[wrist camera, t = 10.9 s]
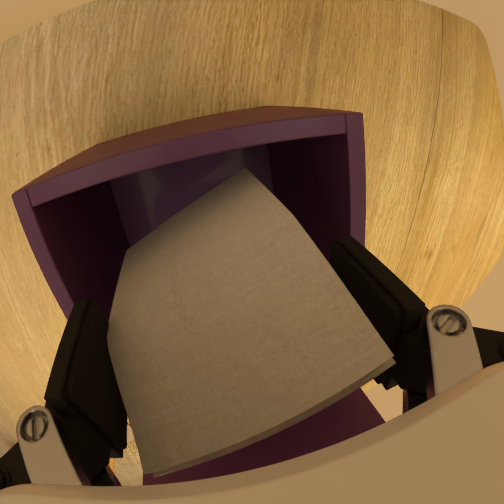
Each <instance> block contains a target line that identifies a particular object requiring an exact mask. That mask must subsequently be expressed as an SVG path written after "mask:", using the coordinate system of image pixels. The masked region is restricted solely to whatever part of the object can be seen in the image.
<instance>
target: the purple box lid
mask: <svg viewBox="0 0 504 504" xmlns="http://www.w3.org/2000/svg"><path fill="white" fill-rule="evenodd" d="M383 423H385V421H384V419H383V418H382V417H381V415H380V414H379V413H378V411H377V410H376V408H375V407H374V406H373V405H372V403H371V402H370V400H369V399H368V397H367V396H366V395H365V393H364V392H363V391H362V389H361V388H358V389H357V390H355V391H353V392H352V393H350V394H348V395H347V396H345V397H343V398H342V399H340V400H338V401H337V402H335V403H333V404H331V405H330V406H328V407H326V408H324V409H323V410H321V411H319V412H317V413H315V414H313V415H312V416H310V417H308V418H306V419H304V420H302V421H300V422H298V423H296V424H294V425H292V426H290V427H288V428H286V429H284V430H282V431H280V432H278V433H276V434H273V435H271V436H269V437H267V438H265V439H262V440H260V441H258V442H256V443H253V444H251V445H248V446H246V447H244V448H241V449H239V450H236V451H234V452H231V453H229V454H226V455H223V456H221V457H218V458H215V459H212V460H210V461H207V462H204V463H201V464H198V465H195V466H192V467H189V468H185V469H182V470H179V471H175V472H172V473H168V474H165V475H161V476H157V477H154V478H153V476H154V473H149V474H144V473H143V485H158V484H169V483H179V482H187V481H194V480H201V479H208V478H214V477H219V476H225V475H230V474H235V473H240V472H244V471H249V470H253V469H257V468H261V467H265V466H269V465H273V464H276V463H280V462H283V461H287V460H290V459H293V458H297V457H300V456H303V455H306V454H309V453H312V452H315V451H318V450H321V449H323V448H326V447H329V446H332V445H334V444H337V443H339V442H342V441H344V440H347V439H349V438H352V437H354V436H357V435H359V434H361V433H364V432H366V431H368V430H370V429H373V428H375V427H377V426H379V425H381V424H383Z"/></svg>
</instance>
